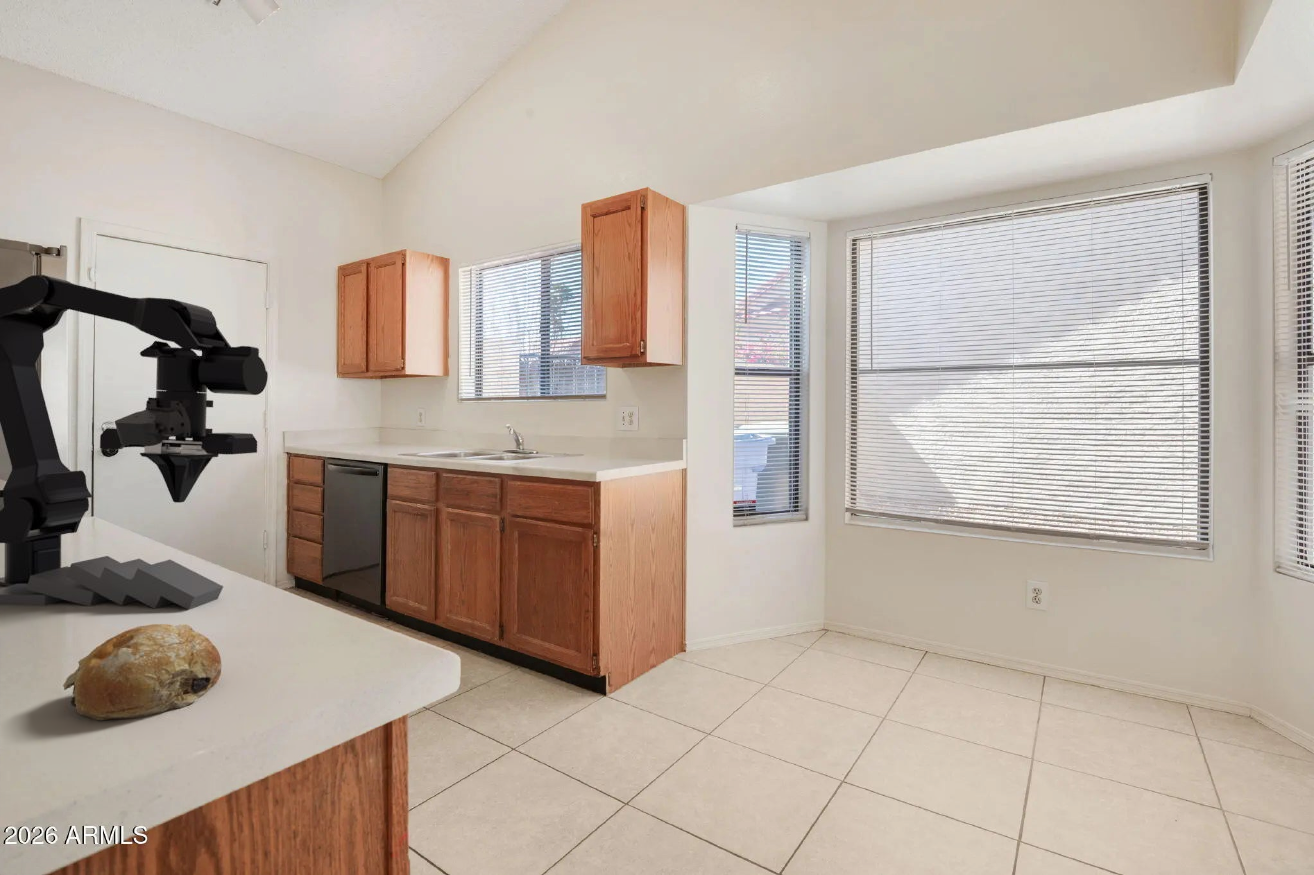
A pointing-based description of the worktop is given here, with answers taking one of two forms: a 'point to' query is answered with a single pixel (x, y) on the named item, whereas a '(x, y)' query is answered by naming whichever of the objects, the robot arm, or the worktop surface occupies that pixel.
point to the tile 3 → (97, 578)
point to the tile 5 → (177, 584)
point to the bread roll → (145, 672)
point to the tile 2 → (63, 587)
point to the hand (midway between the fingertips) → (179, 502)
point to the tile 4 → (131, 582)
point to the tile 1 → (24, 596)
